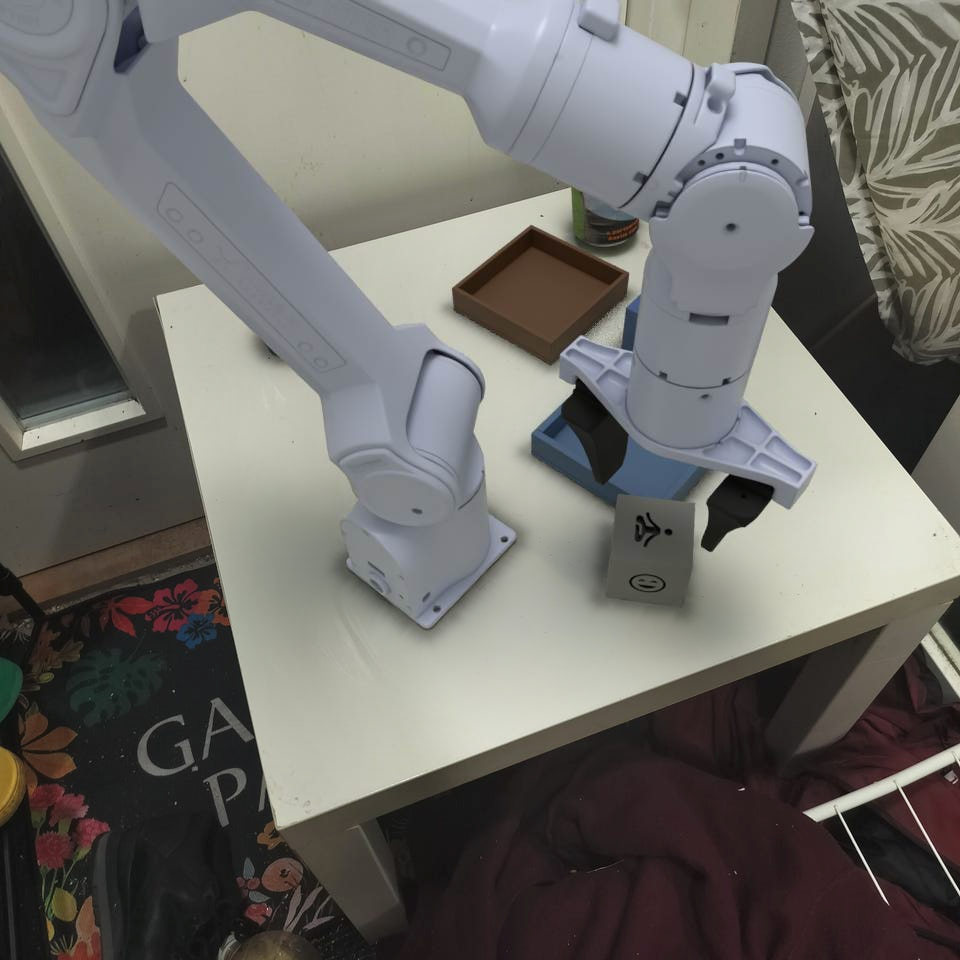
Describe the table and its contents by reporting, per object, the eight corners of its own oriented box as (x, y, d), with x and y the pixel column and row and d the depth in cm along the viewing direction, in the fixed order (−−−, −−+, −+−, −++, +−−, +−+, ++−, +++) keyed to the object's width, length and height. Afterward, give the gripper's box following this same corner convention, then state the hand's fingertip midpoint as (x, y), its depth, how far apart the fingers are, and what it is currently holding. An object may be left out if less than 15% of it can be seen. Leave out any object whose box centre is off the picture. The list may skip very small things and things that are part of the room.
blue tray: (654, 532, 59) (659, 512, 57) (530, 453, 64) (530, 433, 62) (738, 435, 64) (744, 414, 62) (617, 369, 69) (619, 347, 67)
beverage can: (604, 266, 76) (614, 145, 66) (549, 228, 80) (552, 109, 70) (653, 235, 78) (670, 114, 69) (597, 200, 82) (606, 81, 72)
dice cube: (611, 534, 59) (617, 493, 55) (683, 543, 59) (695, 502, 55) (605, 596, 56) (611, 558, 52) (680, 607, 56) (692, 569, 52)
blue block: (666, 372, 68) (674, 332, 64) (620, 348, 70) (625, 307, 66) (697, 341, 70) (705, 300, 66) (651, 318, 72) (658, 277, 68)
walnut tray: (550, 365, 69) (551, 343, 67) (453, 310, 74) (451, 288, 72) (627, 294, 74) (629, 272, 72) (531, 246, 78) (531, 224, 76)
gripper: (876, 364, 39) (801, 524, 50) (618, 242, 45) (601, 409, 56) (801, 459, 36) (738, 607, 47) (535, 315, 42) (535, 476, 53)
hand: (660, 504), depth 51 cm, fingers open, 7 cm apart
